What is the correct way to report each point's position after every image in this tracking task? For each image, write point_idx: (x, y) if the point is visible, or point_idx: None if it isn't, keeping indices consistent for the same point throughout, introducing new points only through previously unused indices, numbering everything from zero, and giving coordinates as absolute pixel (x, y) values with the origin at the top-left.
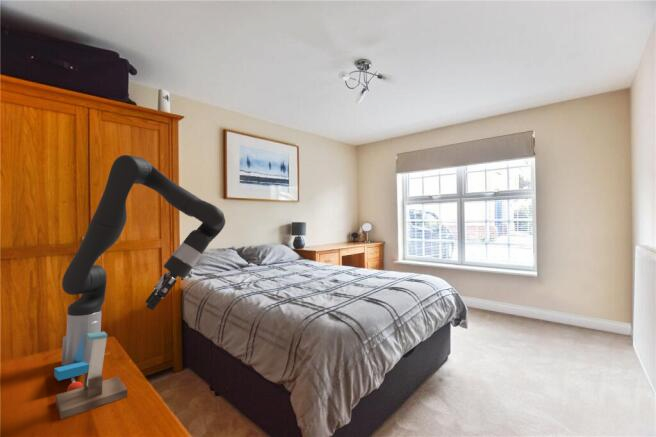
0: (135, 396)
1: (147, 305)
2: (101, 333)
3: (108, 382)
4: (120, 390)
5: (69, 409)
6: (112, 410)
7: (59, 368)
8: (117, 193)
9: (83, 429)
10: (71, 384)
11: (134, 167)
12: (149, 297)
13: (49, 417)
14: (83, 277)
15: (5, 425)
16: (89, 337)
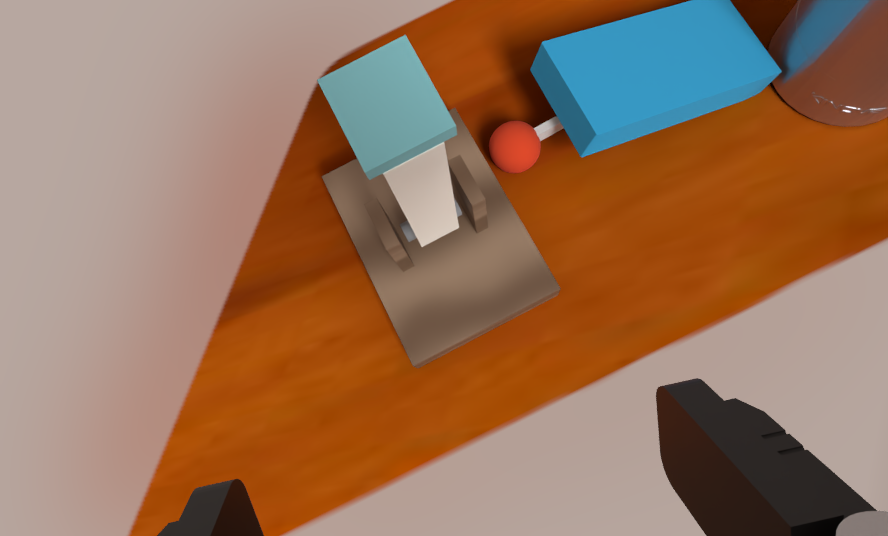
0: (409, 403)
1: (193, 501)
2: (402, 122)
3: (507, 264)
4: (413, 337)
5: (331, 196)
6: (329, 339)
7: (667, 18)
8: None
9: (243, 280)
10: (506, 127)
11: None
12: (704, 446)
13: None
14: None
15: (357, 47)
16: (322, 78)
